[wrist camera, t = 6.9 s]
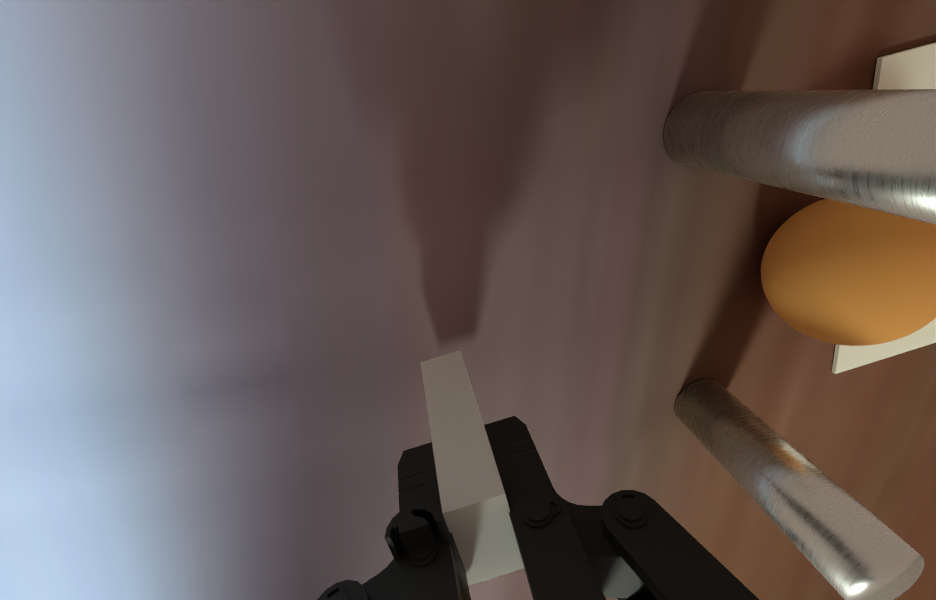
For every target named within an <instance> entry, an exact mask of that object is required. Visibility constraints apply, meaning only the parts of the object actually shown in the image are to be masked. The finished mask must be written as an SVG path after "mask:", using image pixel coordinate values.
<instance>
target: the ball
mask: <svg viewBox="0 0 936 600" xmlns="http://www.w3.org/2000/svg"><path fill="white" fill-rule="evenodd" d="M761 282H762V286H763V290H764V293H765V296H766V298H767V300H768V301H769V303H770V305H771V306H772V308H773V309H774V310H775V312H776V313H777V314H778V315H779V316H780V317H781V318H782V319H783V320H784V321H785V322H786V323H787V324H789V325H790V326H791V327H793V328H794V329H796V330H797V331H799V332H801V333H803V334H805V335H807V336H809V337H812V338H814V339H817V340H820V341H824V342H827V343H832V344H837V345H847V346H868V345H876V344H882V343H886V342H890V341H894V340H897V339H900V338H903V337H905V336H908V335H910V334H912V333H914V332H916V331H918V330H920V329H921V328H923V327H924V326H926V325H927V324H929V323H930V322H931V321H933V320H934V319H935V318H936V224H932V223H928V222H923V221H919V220H915V219H911V218H906V217H902V216H898V215H894V214H889V213H885V212H881V211H877V210H872V209H868V208H864V207H860V206H855V205H851V204H847V203H843V202H838V201H834V200H830V199H823V200H820V201H818V202H815V203H813V204H811V205H809V206H807V207H805V208H803V209H801V210H800V211H798V212H797V213H795V214H794V215H792V216H791V217H790V218H789V219H788V220H786V221H785V222H784V223H783V224H782V225H781V226H780V227H779V228H778V230H777V231H776V232H775V233H774V235H773V236H772V238H771V239H770V241H769V243H768V245H767V247H766V249H765V252H764V255H763V258H762V263H761Z"/></svg>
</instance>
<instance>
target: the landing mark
mask: <svg viewBox="0 0 936 600" xmlns="http://www.w3.org/2000/svg"><path fill="white" fill-rule="evenodd" d="M889 89H936V42H934V43H930V44H927V45H923V46H919V47H916V48H912V49H908V50H905V51H901V52H897V53H894V54H890V55H886V56H883V57H879V58H877V63H876V70H875V77H874V83H873V90H889ZM932 343H936V318H935V319H934V320H933V321H931V322H930V323H929V324H927V325H926V326H924V327H923V328H921V329H920V330H918V331H916V332H914V333H912V334H910V335H908V336H905V337H903V338H900V339H897V340H894V341H890V342H886V343H882V344H876V345H868V346H847V345H837V344H836V346H835V353H834V360H833V367H832V372H833V373H835V374H837V373H840V372H843V371H846V370H849V369H853V368H856V367H859V366H862V365H865V364H869V363H872V362H875V361H878V360H881V359H885V358H888V357H891V356H894V355H897V354H900V353H904V352H907V351H910V350H913V349H916V348H920V347H923V346H926V345H929V344H932Z"/></svg>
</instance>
